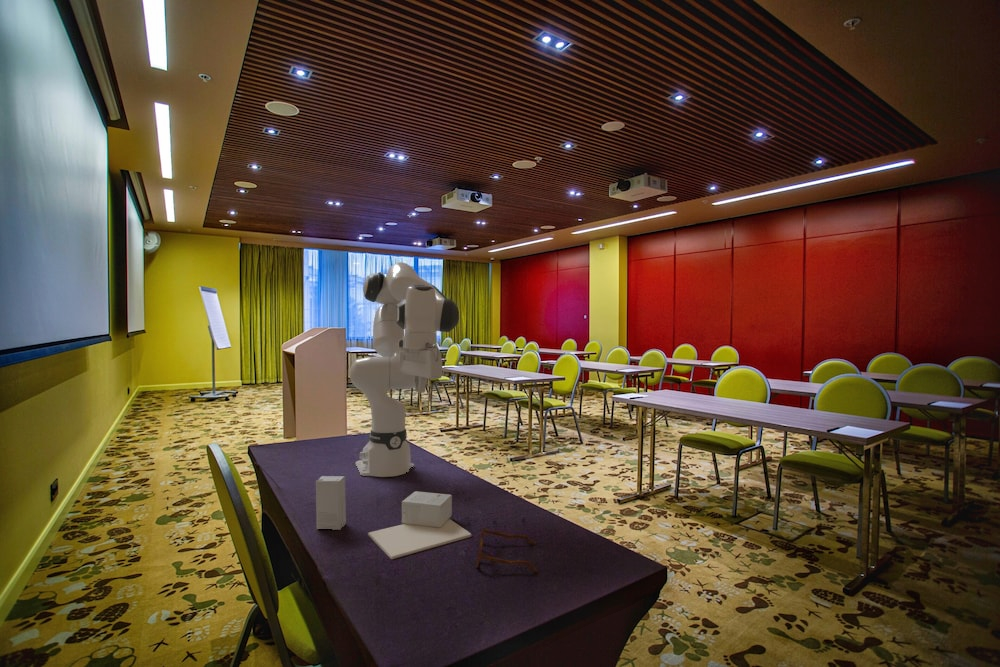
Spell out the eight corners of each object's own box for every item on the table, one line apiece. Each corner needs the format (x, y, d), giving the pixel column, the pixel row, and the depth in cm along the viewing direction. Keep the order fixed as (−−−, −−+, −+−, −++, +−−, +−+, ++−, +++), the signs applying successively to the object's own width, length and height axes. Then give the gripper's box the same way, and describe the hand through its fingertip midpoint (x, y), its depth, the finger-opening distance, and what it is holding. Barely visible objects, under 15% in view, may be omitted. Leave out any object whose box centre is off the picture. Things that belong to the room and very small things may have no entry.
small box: (400, 523, 118) (440, 528, 115) (401, 501, 118) (440, 505, 115) (414, 511, 125) (452, 516, 123) (415, 490, 125) (452, 494, 123)
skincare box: (346, 523, 119) (346, 475, 119) (340, 531, 114) (340, 481, 114) (321, 523, 119) (322, 474, 119) (314, 530, 114) (315, 480, 114)
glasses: (479, 544, 110) (479, 522, 110) (536, 545, 109) (536, 524, 109) (475, 573, 96) (475, 549, 96) (539, 575, 96) (540, 550, 96)
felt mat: (368, 535, 112) (368, 532, 112) (443, 516, 124) (443, 514, 124) (391, 559, 101) (391, 556, 101) (471, 536, 112) (471, 534, 112)
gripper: (448, 344, 126) (448, 396, 126) (415, 341, 143) (414, 387, 143) (427, 344, 122) (426, 397, 123) (395, 341, 139) (394, 388, 139)
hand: (419, 392), depth 133 cm, fingers closed
